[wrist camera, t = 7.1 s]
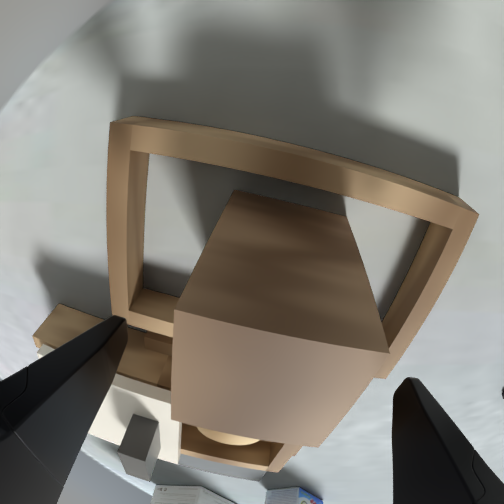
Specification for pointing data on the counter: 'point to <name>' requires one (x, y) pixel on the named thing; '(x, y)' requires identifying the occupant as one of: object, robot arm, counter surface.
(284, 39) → the counter surface
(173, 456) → the lid
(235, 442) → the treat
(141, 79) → the counter surface
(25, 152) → the counter surface
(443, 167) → the counter surface
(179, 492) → the supplement box
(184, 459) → the slate mat
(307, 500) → the medicine box
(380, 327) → the walnut block
